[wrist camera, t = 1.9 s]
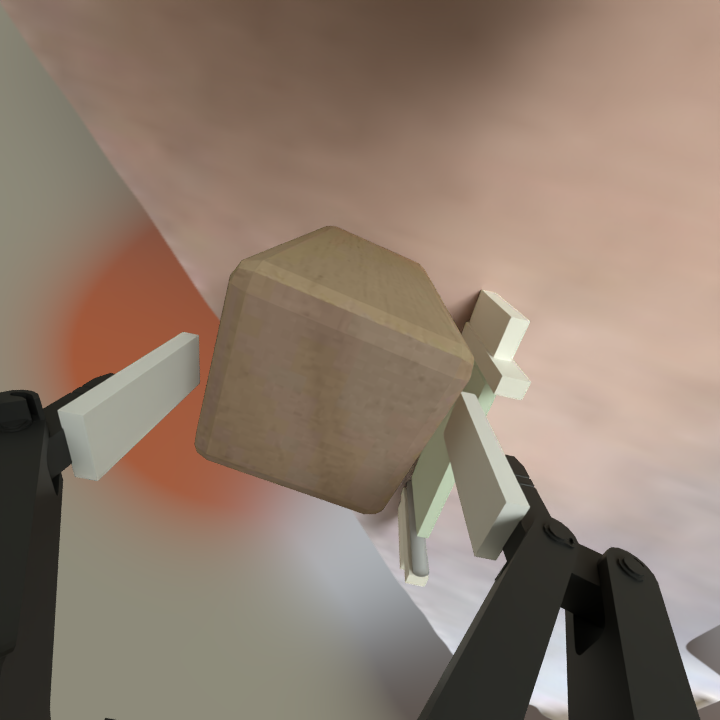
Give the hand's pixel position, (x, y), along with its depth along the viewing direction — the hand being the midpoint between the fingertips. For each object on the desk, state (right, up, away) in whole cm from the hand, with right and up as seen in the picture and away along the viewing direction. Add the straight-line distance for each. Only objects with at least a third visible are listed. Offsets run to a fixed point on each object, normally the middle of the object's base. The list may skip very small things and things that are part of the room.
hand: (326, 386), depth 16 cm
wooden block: (+1, +8, +15) cm, 17 cm away
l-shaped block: (+11, -6, +21) cm, 24 cm away
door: (+10, -5, +20) cm, 23 cm away
